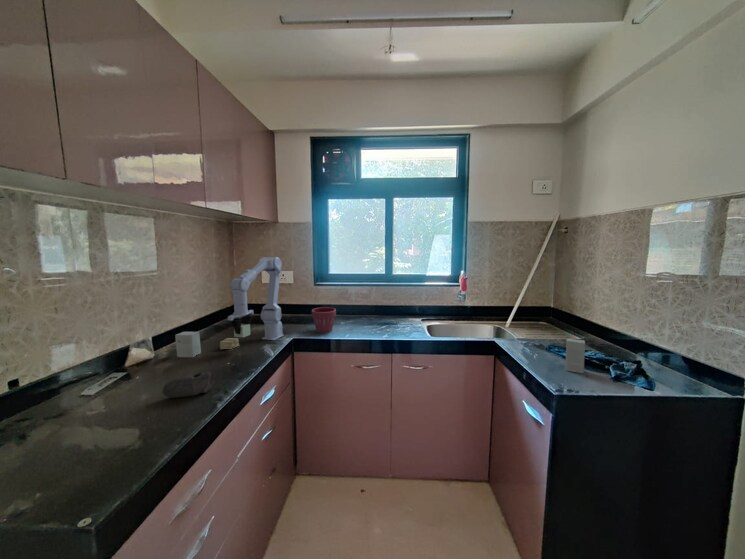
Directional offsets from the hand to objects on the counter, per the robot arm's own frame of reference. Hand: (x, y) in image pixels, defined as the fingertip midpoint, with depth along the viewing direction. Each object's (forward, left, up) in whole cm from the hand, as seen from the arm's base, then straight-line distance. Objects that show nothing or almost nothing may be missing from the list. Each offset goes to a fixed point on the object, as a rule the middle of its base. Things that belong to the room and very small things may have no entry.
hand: (242, 332), depth 143 cm
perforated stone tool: (+41, +14, -10) cm, 44 cm away
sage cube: (0, 0, -2) cm, 2 cm away
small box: (+12, -20, -10) cm, 25 cm away
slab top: (-2, -10, -8) cm, 13 cm away
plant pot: (-43, +21, -10) cm, 49 cm away
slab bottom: (-2, -10, -10) cm, 14 cm away
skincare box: (-19, +142, -10) cm, 143 cm away
